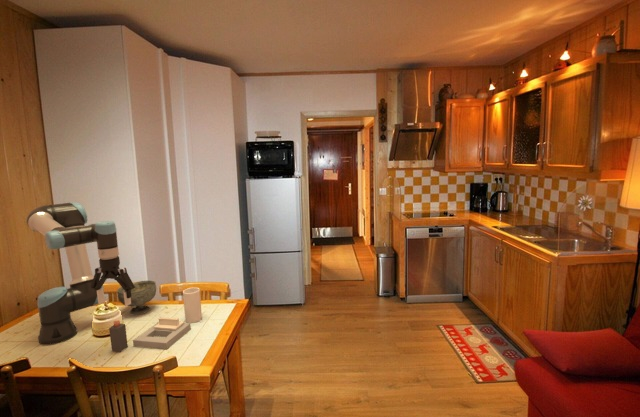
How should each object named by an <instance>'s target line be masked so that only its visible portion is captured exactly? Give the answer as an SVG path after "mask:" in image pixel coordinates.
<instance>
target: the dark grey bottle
mask: <svg viewBox="0 0 640 417" xmlns="http://www.w3.org/2000/svg"><path fill="white" fill-rule="evenodd" d="M108 330H109V338H110V345H111V347H110V348H111V352H115V353H122V352H123V351H124V350H125V349H127V348H128V347H129V345H128V337H127V328H126V323H121V321H120V320H115V321H113V325H112V326H110V327H108Z"/></svg>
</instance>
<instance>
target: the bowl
mask: <svg viewBox="0 0 640 417" xmlns="http://www.w3.org/2000/svg"><path fill="white" fill-rule="evenodd" d="M133 284H134V286H135V288H134V289H132V290H131V297H130V298H131V304H130V305H128V306H127V307H132V308H130V310H129V314H130V315H132V316H138V315H139V316H140V315H143V314H145V313H148V312H149V311H150V310H151V308H150V306H148V305H146V304H147V303H149V302H151V301H152V300H153V299H154V298H155V296H156V295H157V284H156V281H154V280H139V281H135V282H133ZM124 291H125V290H124V289H123V288H122V287H121V286H120V287H118V289H117V298H118V301H119V302H120V303H121V304H122V305H124V306H125V300H124Z"/></svg>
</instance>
